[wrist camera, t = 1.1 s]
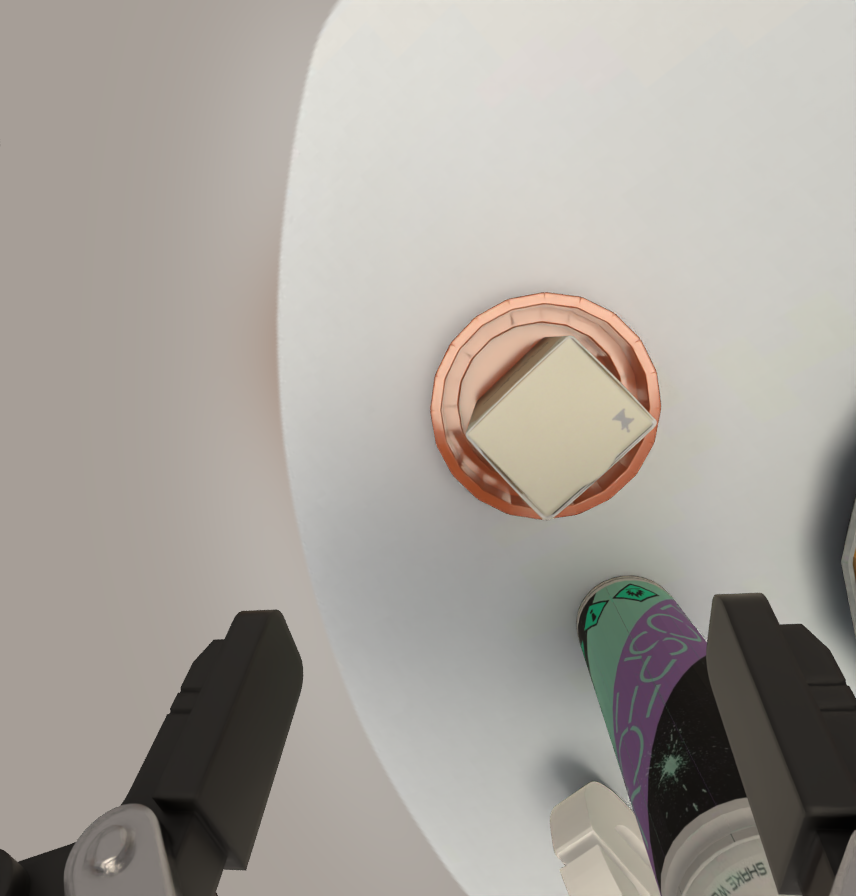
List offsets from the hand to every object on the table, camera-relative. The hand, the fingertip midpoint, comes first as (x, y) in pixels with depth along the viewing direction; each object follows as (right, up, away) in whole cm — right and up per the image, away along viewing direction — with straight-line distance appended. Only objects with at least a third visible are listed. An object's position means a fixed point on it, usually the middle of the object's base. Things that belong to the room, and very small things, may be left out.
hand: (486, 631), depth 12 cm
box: (+4, +6, +20) cm, 21 cm away
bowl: (+4, +6, +20) cm, 21 cm away
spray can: (+10, -6, +22) cm, 24 cm away
